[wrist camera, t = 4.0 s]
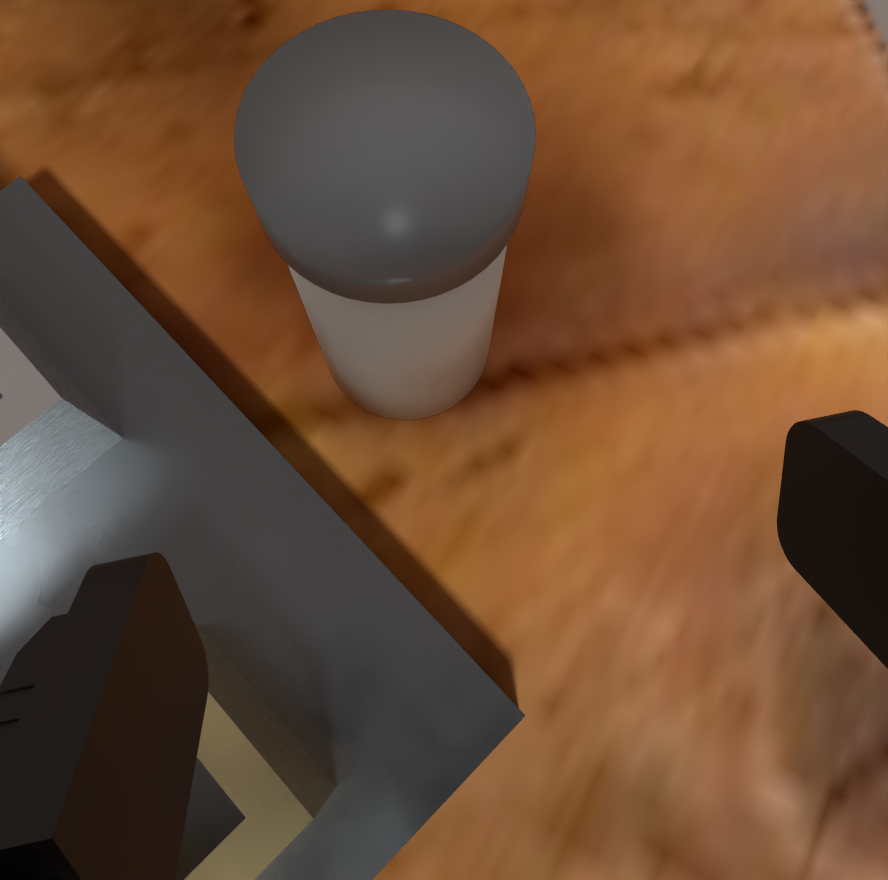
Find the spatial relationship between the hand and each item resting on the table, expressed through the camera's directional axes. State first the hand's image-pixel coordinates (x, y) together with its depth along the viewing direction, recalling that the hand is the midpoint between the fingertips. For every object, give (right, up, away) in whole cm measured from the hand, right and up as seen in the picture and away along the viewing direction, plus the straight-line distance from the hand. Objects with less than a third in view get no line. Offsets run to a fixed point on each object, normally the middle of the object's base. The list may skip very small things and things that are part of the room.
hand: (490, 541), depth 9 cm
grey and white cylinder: (-2, +5, +14) cm, 15 cm away
